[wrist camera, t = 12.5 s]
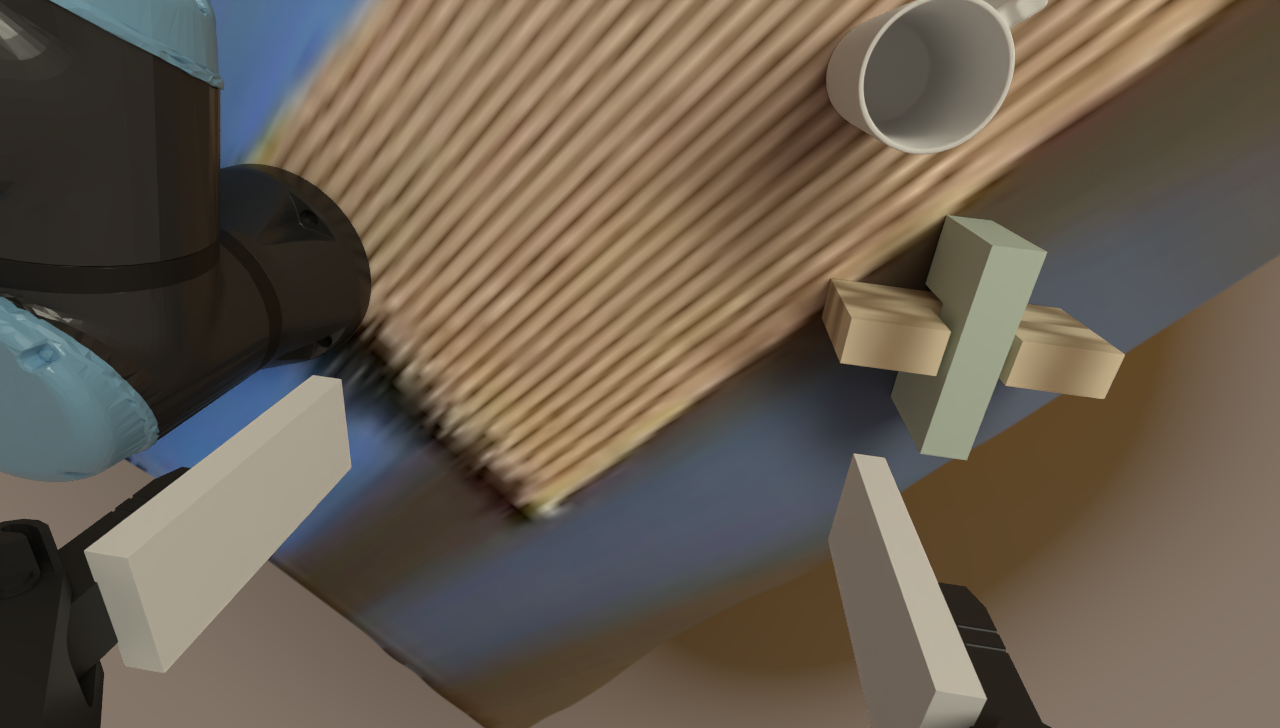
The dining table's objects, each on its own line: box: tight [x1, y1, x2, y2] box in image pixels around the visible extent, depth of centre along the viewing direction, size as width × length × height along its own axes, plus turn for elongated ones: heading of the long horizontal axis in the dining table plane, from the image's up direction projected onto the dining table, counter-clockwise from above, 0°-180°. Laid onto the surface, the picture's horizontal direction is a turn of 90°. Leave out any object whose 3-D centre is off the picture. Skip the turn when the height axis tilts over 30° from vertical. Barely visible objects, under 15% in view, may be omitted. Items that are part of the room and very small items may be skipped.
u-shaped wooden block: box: [822, 279, 1125, 399], centre depth 42 cm, size 16×3×8 cm, turn 84°
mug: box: [826, 0, 1047, 154], centre depth 34 cm, size 10×7×12 cm, turn 127°
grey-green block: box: [891, 215, 1047, 460], centre depth 42 cm, size 3×14×8 cm, turn 174°
